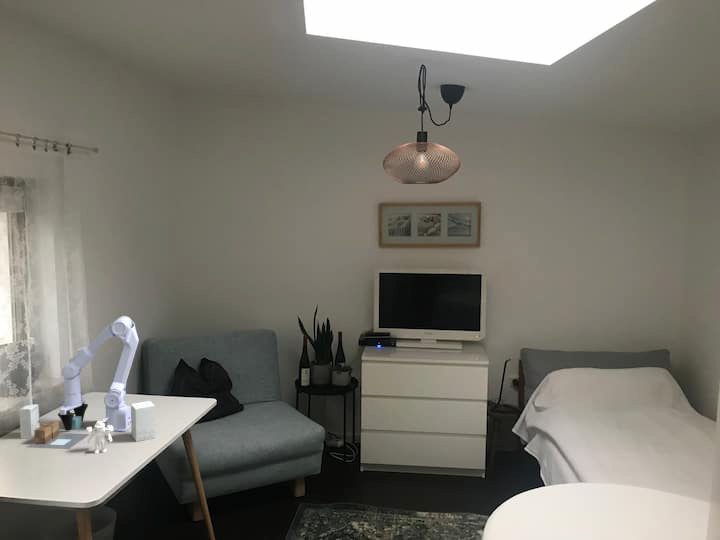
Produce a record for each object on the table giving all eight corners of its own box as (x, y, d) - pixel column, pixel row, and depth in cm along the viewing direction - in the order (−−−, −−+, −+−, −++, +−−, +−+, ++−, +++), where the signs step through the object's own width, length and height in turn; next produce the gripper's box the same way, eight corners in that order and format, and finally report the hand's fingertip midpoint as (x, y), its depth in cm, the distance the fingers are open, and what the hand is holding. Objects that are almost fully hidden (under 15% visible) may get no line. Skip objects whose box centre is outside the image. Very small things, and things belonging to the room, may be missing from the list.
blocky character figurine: (114, 448, 207) (113, 415, 206) (113, 452, 203) (112, 419, 202) (87, 451, 204) (86, 418, 203) (85, 455, 201) (84, 422, 199)
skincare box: (32, 441, 213) (30, 409, 212) (20, 441, 213) (18, 409, 212) (40, 434, 219) (39, 404, 218) (28, 434, 219) (27, 404, 218)
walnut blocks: (59, 435, 216) (58, 422, 216) (45, 443, 208) (44, 430, 207) (49, 434, 216) (48, 421, 216) (34, 443, 208) (34, 430, 208)
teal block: (81, 428, 226) (81, 416, 226) (76, 432, 222) (75, 419, 222) (72, 428, 226) (71, 415, 226) (66, 431, 222) (65, 419, 222)
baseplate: (90, 436, 217) (90, 433, 217) (68, 451, 204) (68, 448, 203) (50, 435, 219) (49, 432, 219) (26, 449, 205) (25, 446, 205)
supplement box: (156, 438, 217) (155, 405, 216) (135, 442, 213) (134, 409, 212) (151, 431, 223) (150, 400, 222) (131, 435, 219) (130, 403, 218)
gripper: (73, 386, 230) (74, 419, 232) (51, 398, 216) (52, 432, 217) (90, 387, 230) (91, 420, 231) (69, 398, 215) (70, 433, 217)
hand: (74, 426), depth 224 cm, fingers open, 7 cm apart
